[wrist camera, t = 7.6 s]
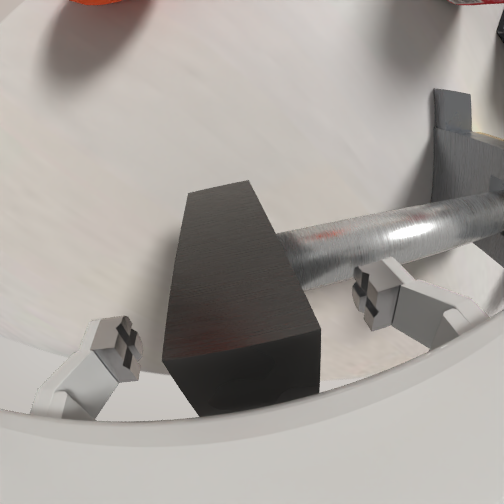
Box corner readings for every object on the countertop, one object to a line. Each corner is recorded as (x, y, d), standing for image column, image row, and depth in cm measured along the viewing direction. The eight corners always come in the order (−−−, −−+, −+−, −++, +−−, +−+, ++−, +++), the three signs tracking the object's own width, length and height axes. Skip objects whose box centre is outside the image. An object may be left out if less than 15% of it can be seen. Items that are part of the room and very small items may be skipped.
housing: (425, 244, 22) (508, 323, 13) (432, 88, 15) (558, 114, 5) (453, 236, 23) (531, 305, 13) (462, 93, 16) (573, 122, 6)
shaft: (211, 276, 16) (224, 448, 7) (188, 193, 13) (161, 360, 5) (465, 217, 17) (557, 291, 8) (472, 154, 14) (583, 213, 6)
